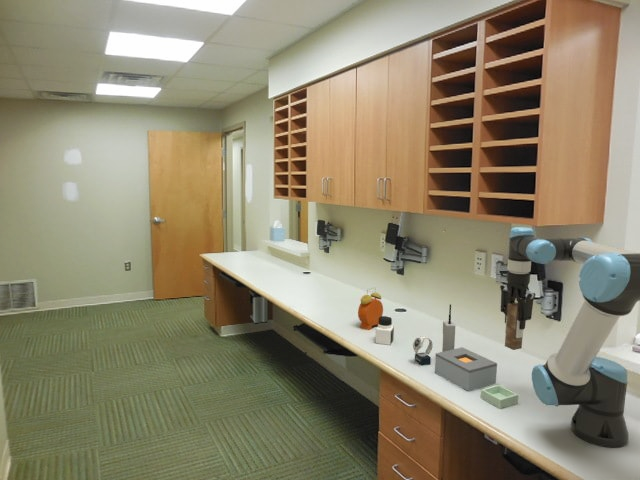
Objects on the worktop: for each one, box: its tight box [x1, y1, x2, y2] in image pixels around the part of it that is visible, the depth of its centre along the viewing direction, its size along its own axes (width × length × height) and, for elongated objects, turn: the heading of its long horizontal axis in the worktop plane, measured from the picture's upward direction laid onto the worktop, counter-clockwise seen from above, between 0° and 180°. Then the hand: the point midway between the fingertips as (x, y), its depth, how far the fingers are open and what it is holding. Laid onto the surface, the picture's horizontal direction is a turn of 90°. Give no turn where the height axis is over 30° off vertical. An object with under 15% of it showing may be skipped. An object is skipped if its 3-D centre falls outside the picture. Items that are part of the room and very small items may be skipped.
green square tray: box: [480, 384, 519, 409], centre depth 166 cm, size 9×9×3 cm
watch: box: [412, 336, 434, 367], centre depth 198 cm, size 6×8×11 cm
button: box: [459, 357, 472, 363], centre depth 183 cm, size 5×5×2 cm
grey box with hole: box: [434, 346, 498, 392], centre depth 184 cm, size 18×14×8 cm
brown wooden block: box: [504, 301, 523, 351], centre depth 170 cm, size 4×4×16 cm
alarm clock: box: [357, 287, 384, 331], centre depth 242 cm, size 13×6×20 cm, turn 135°
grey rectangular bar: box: [441, 303, 456, 352], centre depth 198 cm, size 4×5×25 cm
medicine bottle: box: [375, 315, 395, 346], centre depth 221 cm, size 7×7×12 cm
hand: (513, 334), depth 171 cm, fingers closed on brown wooden block, 4 cm apart
